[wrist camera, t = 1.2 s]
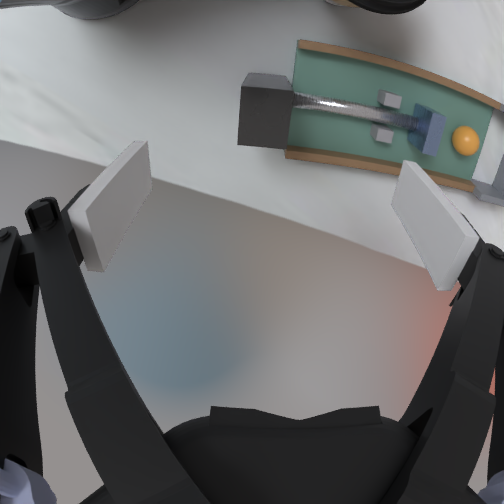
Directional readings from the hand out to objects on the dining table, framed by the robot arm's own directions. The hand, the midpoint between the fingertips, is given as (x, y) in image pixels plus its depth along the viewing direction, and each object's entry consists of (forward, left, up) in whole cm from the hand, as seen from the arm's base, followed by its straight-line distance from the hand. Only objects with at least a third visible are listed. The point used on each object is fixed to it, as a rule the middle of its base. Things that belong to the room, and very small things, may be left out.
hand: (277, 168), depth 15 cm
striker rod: (0, +8, -21) cm, 23 cm away
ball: (0, +25, -20) cm, 32 cm away
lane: (0, +16, -23) cm, 28 cm away
